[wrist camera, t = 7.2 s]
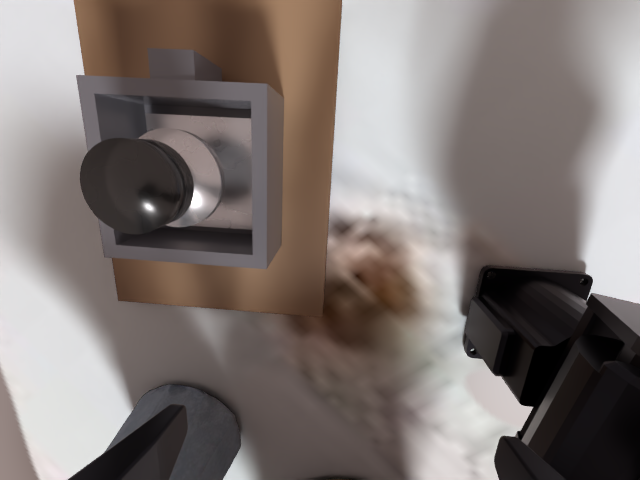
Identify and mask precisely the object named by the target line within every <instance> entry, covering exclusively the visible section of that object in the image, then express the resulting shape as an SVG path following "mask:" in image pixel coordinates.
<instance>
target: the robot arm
mask: <svg viewBox="0 0 640 480" xmlns="http://www.w3.org/2000/svg"><path fill="white" fill-rule="evenodd" d="M489 272H493V274H492V275H491V276H489V277H487V274H488V273H489ZM582 279H584V280H583V281H582V282H581V283H580V280H582ZM592 283H593V279H592V277H591V276H590V275H588V274H586V273H583V272H573V271H559V270H545V269H531V268H517V267H503V266H486V267H484V268H483V269H482V270H481V272H480V276H479V281H478V285H477V290H476V295H475V296H474V297H473V298H472V300H471V304H470V309H469V314H468V318H467V323H466V328H465V333H466V335H467V336H466V341H465V345H464V350H465V352H466V354H467V355H468V356H469V357H471V358H479V359H483V360H484V361H485V363H486V364H487V366H488V367H489V369H490V370H491V372H492V373H493V374H494V375H495V376H501V377H502V379H503V380H504V381H505V383H506V384H507V385H508V387H509V388H510V390H511V391H512V393H513V394H514V395H515V397H516V399H517V400H518V401H519V403H520V404H521V405H524V406H532V407H533V409H532V411H531V413H530V415H529V417H528V419H527V420H526V422H525V424H524V426H523V428H522V430H521V431H518V432H517V433H516V435H515V437H511V436H502V437H501V438H500V439H499V443H498V446H497V450H496V453H495V458H494V463H495V468H496V471H497V474H498V477H499V480H640V304H637V303H633V302H629V301H625V300H620V299H616V298H612V297H607V296H603V295H599V294H594V293H591V295H590V297H589V298H588V295H589V292H590V289H591V286H592ZM587 298H588V300H587ZM473 348H475V350H474V351H470V350H471V349H473ZM187 431H188V421H187V410H186V406H185V405H181V404H171V405H169V406H167V407H166V408H164V409H163V410H162V411H160V412H159V413H158V414H156V415H155V416H154V417H152V418H151V419H150V420H148V421H147V422H145V423H144V424H143V425H141V426H140V427H139V428H137V429H136V430H135V431H133V432H132V433H130V434H129V435H128V436H126V437H125V438H124V439H122V440H121V441H120V442H118V443H117V444H116V445H114V446H113V447H111V448H110V449H109V450H107V451H106V452H105V453H103V454H102V455H101V456H99V457H98V458H96V459H95V460H94V461H92V462H91V463H90V464H88V465H87V466H86V467H84V468H83V469H82V470H80V471H79V472H77V473H76V474H75V475H73V476H72V477H71V478H69V479H68V480H169V479H170V476H171V474H172V471H173V468H174V466H175V463H176V461H177V458H178V456H179V453H180V450H181V448H182V445H183V443H184V440H185V438H186V435H187Z"/></svg>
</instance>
